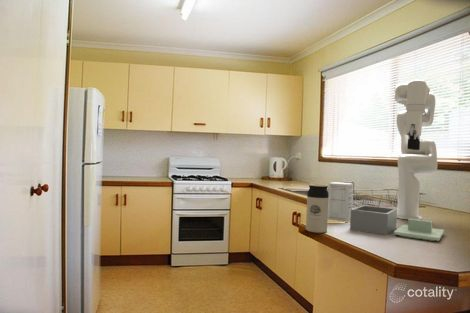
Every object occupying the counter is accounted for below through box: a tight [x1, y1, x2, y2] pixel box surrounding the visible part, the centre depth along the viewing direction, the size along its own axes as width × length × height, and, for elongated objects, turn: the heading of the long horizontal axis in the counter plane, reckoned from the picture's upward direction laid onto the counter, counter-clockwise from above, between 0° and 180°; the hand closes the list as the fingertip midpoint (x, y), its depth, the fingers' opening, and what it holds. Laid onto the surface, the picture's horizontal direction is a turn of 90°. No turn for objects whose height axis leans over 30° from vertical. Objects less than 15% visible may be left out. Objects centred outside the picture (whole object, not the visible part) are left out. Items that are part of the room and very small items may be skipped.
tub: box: [349, 204, 398, 236], centre depth 154 cm, size 18×14×8 cm
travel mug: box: [305, 182, 329, 234], centre depth 144 cm, size 8×8×18 cm
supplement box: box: [327, 181, 354, 222], centre depth 174 cm, size 10×9×17 cm
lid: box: [393, 219, 445, 242], centre depth 145 cm, size 19×15×6 cm
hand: (413, 149), depth 162 cm, fingers open, 9 cm apart
